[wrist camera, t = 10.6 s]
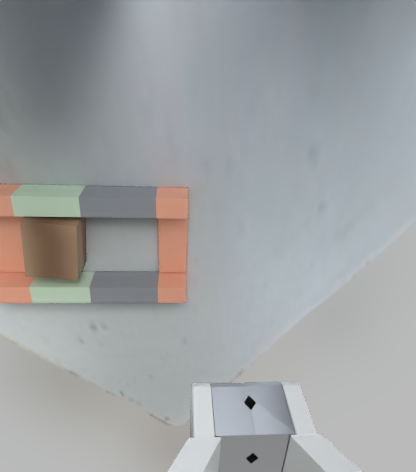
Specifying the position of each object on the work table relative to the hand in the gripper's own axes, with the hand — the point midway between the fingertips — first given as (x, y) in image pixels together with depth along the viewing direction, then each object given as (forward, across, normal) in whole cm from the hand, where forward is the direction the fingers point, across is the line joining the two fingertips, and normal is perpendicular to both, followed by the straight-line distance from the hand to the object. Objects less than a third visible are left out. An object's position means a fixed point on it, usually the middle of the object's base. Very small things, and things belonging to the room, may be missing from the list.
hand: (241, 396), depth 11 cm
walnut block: (+29, +14, +10) cm, 34 cm away
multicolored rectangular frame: (+29, +11, +11) cm, 33 cm away
